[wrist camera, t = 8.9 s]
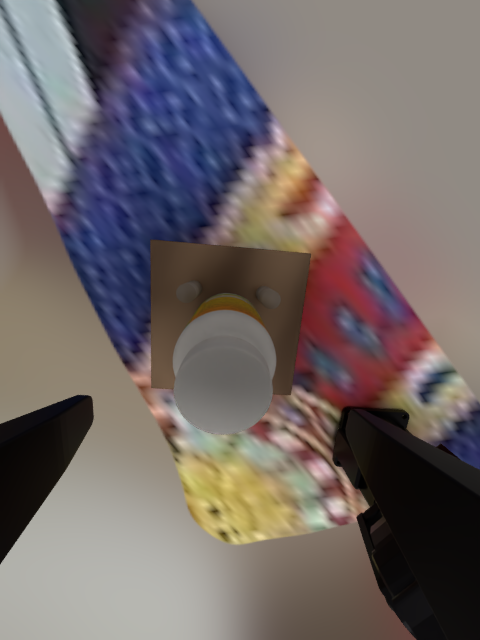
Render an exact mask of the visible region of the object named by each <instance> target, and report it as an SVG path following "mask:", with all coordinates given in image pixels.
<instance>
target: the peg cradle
mask: <svg viewBox="0 0 480 640" xmlns="http://www.w3.org/2000/svg"><path fill="white" fill-rule="evenodd" d="M310 258H311V254H309V253H298V252H286V251H275V250H264V249H252V248H241V247H229V246H218V245H207V244H195V243H184V242H173V241H161V240H151V388H160V389H174V382H175V378H176V377H175V374H174V370H173V353H174V348H175V345H176V343H177V340H178V338H179V337H180V335H181V333H182V332H183V330H184V329H185V327H186V326H187V324H188V323H189V321H190V320H191V318H192V317H193V315H194V314H195V312H196V310H197V309H198V308H199V306H200V305H201V304H202V303H203V302H204V301H205V300H207V299H208V298H210V297H212V296H215V295H218V294H223V293H230V294H236V295H239V296H241V297H243V298H245V299H247V300H248V301H249V302H250V303H251V304H252V305H253V306H254V307H255V309H256V310H257V312H258V313H259V315H260V317H261V319H262V321H263V323H264V325H265V327H266V329H267V331H268V333H269V335H270V337H271V339H272V342H273V345H274V348H275V352H276V368H275V373H274V376H273V379H272V385H273V394H277V395H291V389H292V382H293V375H294V368H295V361H296V354H297V347H298V340H299V334H300V327H301V320H302V313H303V306H304V299H305V292H306V285H307V278H308V271H309V264H310Z"/></svg>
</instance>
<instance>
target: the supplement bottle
mask: <svg viewBox="0 0 480 640" xmlns="http://www.w3.org/2000/svg"><path fill="white" fill-rule="evenodd" d="M275 368H276V352H275V348H274V345H273V342H272V339H271V337H270V335H269V333H268V331H267V329H266V327H265V325H264V323H263V321H262V319H261V317H260V315H259V313H258V312H257V310H256V309H255V307H254V306H253V305H252V304H251V303H250V302H249V301H248V300H247V299H245V298H243V297H241V296H239V295H236V294H230V293H223V294H218V295H215V296H212V297H210V298H208V299H207V300H205V301H204V302H203V303H202V304H201V305H200V306H199V308H198V309H197V310H196V312H195V314H194V315H193V317H192V318H191V320H190V321H189V323H188V324H187V326H186V327H185V329H184V330H183V332H182V333H181V335H180V337H179V338H178V340H177V343H176V345H175V348H174V353H173V370H174V374H175V377H176V378H175V382H174V398H175V402H176V405H177V407H178V409H179V411H180V413H181V414H182V415H183V417H184V418H185V419H186V420H187V421H188V422H189V423H190V424H192V425H193V426H195V427H196V428H198V429H200V430H203V431H205V432H208V433H212V434H233V433H238V432H241V431H243V430H246V429H248V428H249V427H251V426H253V425H254V424H256V423H257V422H258V421H259V420H260V419H261V418H262V417H263V416H264V415H265V413H266V412H267V410H268V408H269V406H270V403H271V400H272V394H273V385H272V379H273V376H274V373H275Z"/></svg>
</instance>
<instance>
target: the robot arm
mask: <svg viewBox="0 0 480 640" xmlns="http://www.w3.org/2000/svg"><path fill="white" fill-rule="evenodd" d="M348 412H349V414H347V413H348ZM93 418H94V415H93V401H92V397H91V396H88V395H76V396H74V397H71V398H68V399H65V400H63V401H60V402H57V403H55V404H52V405H49V406H47V407H44V408H42V409H39V410H36V411H34V412H31V413H28V414H26V415H23V416H20V417H18V418H15V419H12V420H10V421H7V422H4V423H2V424H0V564H1V562H2V561H3V560H4V558H5V557H6V555H7V553H8V552H9V551H10V550H11V548H12V547H13V545H14V544H15V542H16V541H17V539H18V538H19V537H20V535H21V534H22V532H23V531H24V529H25V528H26V526H27V525H28V524H29V522H30V521H31V519H32V518H33V517H34V515H35V514H36V512H37V511H38V509H39V508H40V506H41V505H42V504H43V502H44V501H45V499H46V498H47V496H48V495H49V494H50V492H51V490H52V489H53V488H54V486H55V485H56V483H57V482H58V481H59V479H60V478H61V476H62V475H63V473H64V472H65V470H66V469H67V467H68V465H69V464H70V462H71V460H72V458H73V457H74V455H75V453H76V451H77V450H78V448H79V446H80V444H81V443H82V441H83V439H84V437H85V436H86V434H87V432H88V430H89V429H90V427H91V425H92V422H93ZM408 420H409V414H408V413H407V412H406V411H405V410H393V409H372V408H351V407H347V408H345V409H344V410H343V411H342V416H341V421H340V426H339V429H338V430H337V435H336V440H335V445H334V455H333V462H334V464H335V465H336V466H338V467H343V469H344V471H345V472H346V474H347V476H348V478H349V480H350V481H351V483H352V485H353V486H354V488H355V489H360V491H361V493H362V494H363V496H364V498H365V500H366V501H367V503H368V505H369V506H370V508H368V509H367V510H366V511H365V512H364V513H362V512H361V513H360V514H359V515H358V516H357V521H358V524H359V527H360V531H361V533H362V537H363V540H364V543H365V546H366V549H367V552H368V556H369V558H370V561H371V565H372V568H373V571H374V574H375V577H376V580H377V583H378V586H379V589H380V591H381V592H382V594H383V595H384V596H385V599H386V602H387V603H388V605H389V607H390V608H391V609H392V610H393V611H394V612H395V613H396V615H397V616H398V618H399V619H400V620H401V622H402V623H403V625H404V626H405V627H406V628H407V629H408V630H409V632H410V633H411V634H412V635H413V636H414V637H415V638H416V639H417V640H480V470H479V469H477V468H475V467H473V466H471V465H469V464H467V463H465V462H463V461H461V460H460V459H459V458H458V457H457V456H455V455H454V454H453V453H452V452H451V451H449V450H448V449H447V448H446V447H445V446H443V445H442V444H440V445H438V446H437V447H434V446H432V445H430V444H429V443H427V442H425V441H423V440H421V439H419V438H417V437H415V436H413V435H412V434H411V433H410V432H409V431H408V430H407V429H406V428H407V424H408Z"/></svg>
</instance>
